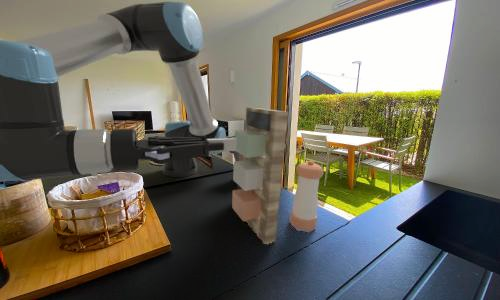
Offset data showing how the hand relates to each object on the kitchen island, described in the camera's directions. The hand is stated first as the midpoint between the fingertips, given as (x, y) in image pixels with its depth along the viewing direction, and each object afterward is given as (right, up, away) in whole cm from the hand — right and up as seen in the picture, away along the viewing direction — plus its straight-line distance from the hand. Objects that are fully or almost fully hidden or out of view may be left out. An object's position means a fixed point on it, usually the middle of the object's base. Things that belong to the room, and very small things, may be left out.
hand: (235, 144), depth 47 cm
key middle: (+3, -10, +5) cm, 11 cm away
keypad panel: (+5, -23, +10) cm, 25 cm away
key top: (+3, -2, +3) cm, 5 cm away
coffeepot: (+2, -15, +42) cm, 44 cm away
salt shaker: (+19, -23, +12) cm, 32 cm away
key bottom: (+2, -18, +7) cm, 19 cm away
